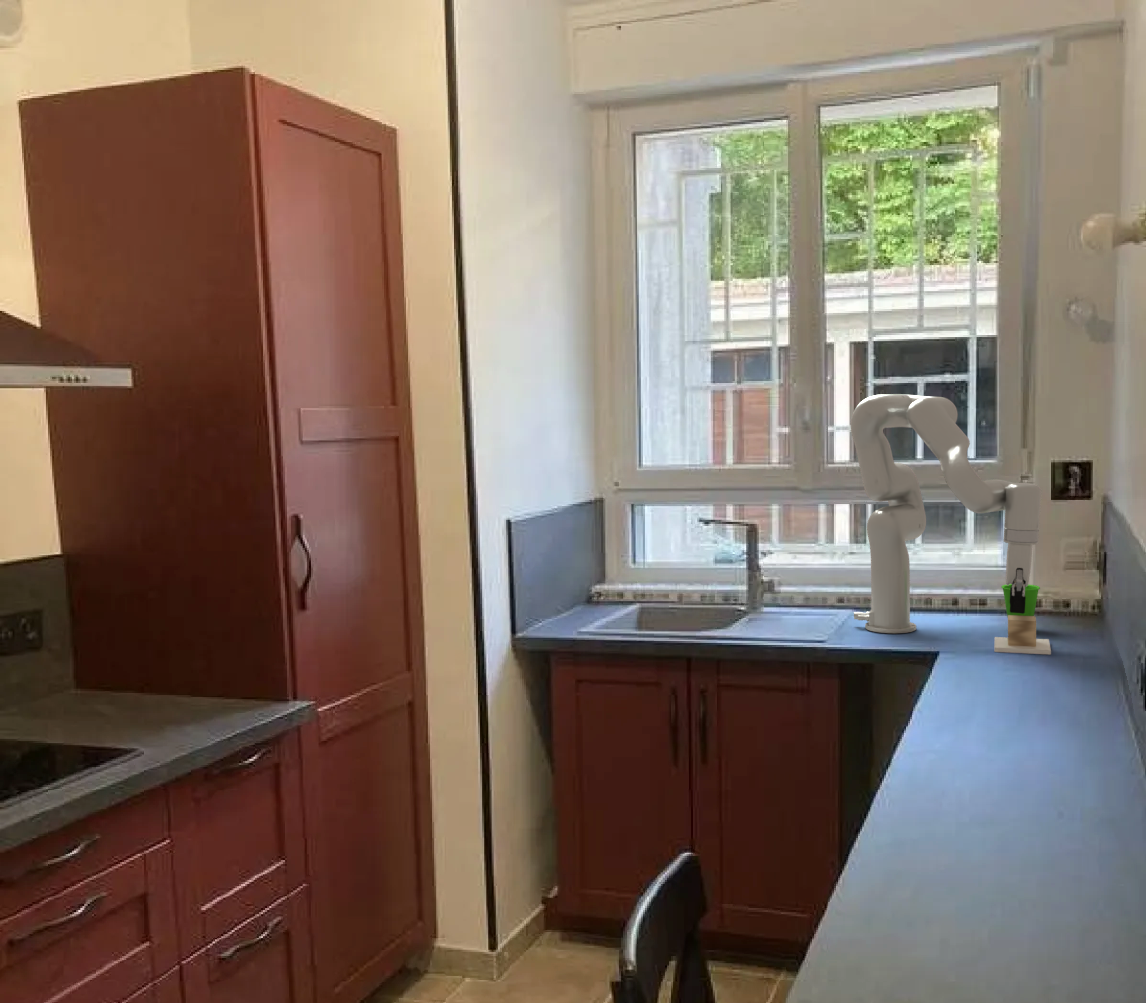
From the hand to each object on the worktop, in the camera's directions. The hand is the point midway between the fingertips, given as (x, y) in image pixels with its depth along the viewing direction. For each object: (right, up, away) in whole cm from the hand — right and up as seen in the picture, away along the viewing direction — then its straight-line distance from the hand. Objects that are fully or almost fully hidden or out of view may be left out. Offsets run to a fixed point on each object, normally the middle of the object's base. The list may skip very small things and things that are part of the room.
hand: (1016, 608), depth 259 cm
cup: (+9, -8, +19) cm, 23 cm away
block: (+1, -8, 0) cm, 8 cm away
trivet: (+1, -9, 0) cm, 9 cm away
